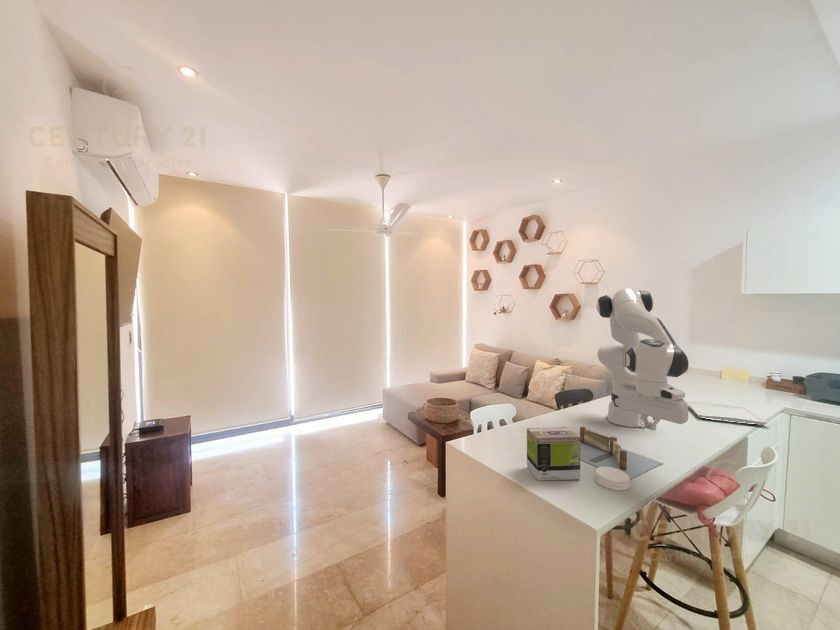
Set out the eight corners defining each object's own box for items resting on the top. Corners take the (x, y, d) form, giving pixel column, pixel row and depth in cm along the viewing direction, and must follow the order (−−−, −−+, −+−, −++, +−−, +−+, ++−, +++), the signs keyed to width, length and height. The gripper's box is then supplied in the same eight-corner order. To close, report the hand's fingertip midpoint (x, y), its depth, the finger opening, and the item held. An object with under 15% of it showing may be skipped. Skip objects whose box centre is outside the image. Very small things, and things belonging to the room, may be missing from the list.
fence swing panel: (611, 454, 132) (611, 439, 132) (617, 455, 131) (617, 439, 131) (620, 469, 120) (620, 452, 120) (627, 470, 119) (627, 453, 119)
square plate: (683, 406, 199) (683, 400, 199) (744, 413, 187) (745, 406, 187) (697, 420, 174) (697, 413, 174) (768, 429, 162) (769, 421, 162)
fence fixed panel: (582, 441, 146) (582, 426, 146) (617, 454, 133) (618, 438, 133) (578, 442, 145) (578, 427, 144) (614, 456, 132) (614, 439, 131)
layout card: (591, 438, 149) (591, 437, 149) (662, 463, 125) (663, 462, 125) (556, 449, 137) (556, 448, 137) (627, 480, 113) (627, 479, 113)
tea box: (566, 466, 123) (567, 426, 123) (580, 480, 113) (581, 437, 112) (525, 467, 122) (526, 426, 122) (536, 481, 112) (537, 437, 112)
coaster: (601, 490, 108) (601, 479, 107) (590, 474, 117) (590, 464, 117) (635, 492, 106) (635, 481, 106) (621, 477, 116) (621, 467, 116)
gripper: (614, 383, 120) (613, 421, 121) (682, 396, 103) (680, 441, 103) (624, 381, 124) (623, 418, 124) (691, 393, 106) (690, 437, 106)
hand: (650, 429), depth 113 cm, fingers closed
